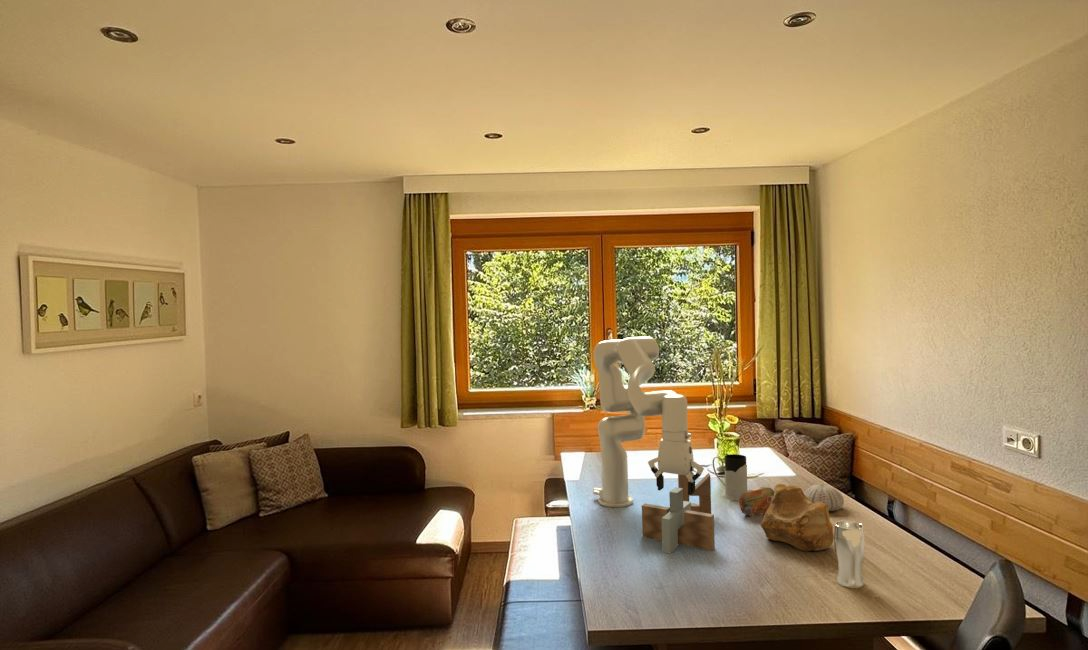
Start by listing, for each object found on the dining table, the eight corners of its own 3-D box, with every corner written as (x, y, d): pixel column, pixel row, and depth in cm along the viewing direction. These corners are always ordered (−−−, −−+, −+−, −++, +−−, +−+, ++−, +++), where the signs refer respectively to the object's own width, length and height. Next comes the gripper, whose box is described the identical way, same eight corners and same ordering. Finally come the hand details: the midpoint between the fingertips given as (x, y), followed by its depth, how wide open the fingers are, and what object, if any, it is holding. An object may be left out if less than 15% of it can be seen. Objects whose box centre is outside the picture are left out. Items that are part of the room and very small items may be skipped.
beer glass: (829, 577, 164) (828, 520, 163) (855, 576, 164) (854, 519, 164) (844, 589, 157) (843, 530, 156) (871, 588, 157) (870, 528, 157)
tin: (744, 518, 210) (744, 493, 210) (737, 515, 213) (737, 491, 213) (777, 510, 217) (776, 486, 217) (770, 507, 220) (769, 484, 220)
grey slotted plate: (684, 532, 199) (683, 482, 199) (691, 533, 198) (690, 483, 198) (662, 551, 184) (661, 497, 184) (670, 553, 183) (668, 498, 182)
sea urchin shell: (800, 511, 216) (799, 488, 216) (804, 499, 228) (803, 477, 228) (843, 516, 210) (842, 492, 209) (844, 504, 222) (844, 481, 221)
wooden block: (711, 517, 213) (710, 464, 212) (679, 516, 214) (677, 464, 213) (710, 513, 216) (708, 461, 216) (678, 513, 218) (676, 461, 217)
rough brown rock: (746, 532, 200) (742, 486, 199) (794, 523, 203) (790, 478, 201) (787, 564, 177) (783, 512, 176) (840, 553, 180) (836, 502, 179)
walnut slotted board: (642, 537, 196) (641, 505, 196) (645, 534, 198) (644, 503, 198) (712, 550, 184) (711, 516, 184) (714, 547, 186) (713, 514, 186)
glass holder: (740, 502, 227) (739, 460, 227) (706, 494, 238) (706, 454, 237) (753, 496, 233) (752, 456, 233) (720, 489, 244) (719, 450, 243)
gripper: (707, 436, 189) (707, 492, 189) (653, 430, 198) (654, 484, 199) (698, 441, 182) (699, 499, 183) (643, 435, 192) (644, 490, 193)
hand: (675, 491), depth 191 cm, fingers open, 9 cm apart
